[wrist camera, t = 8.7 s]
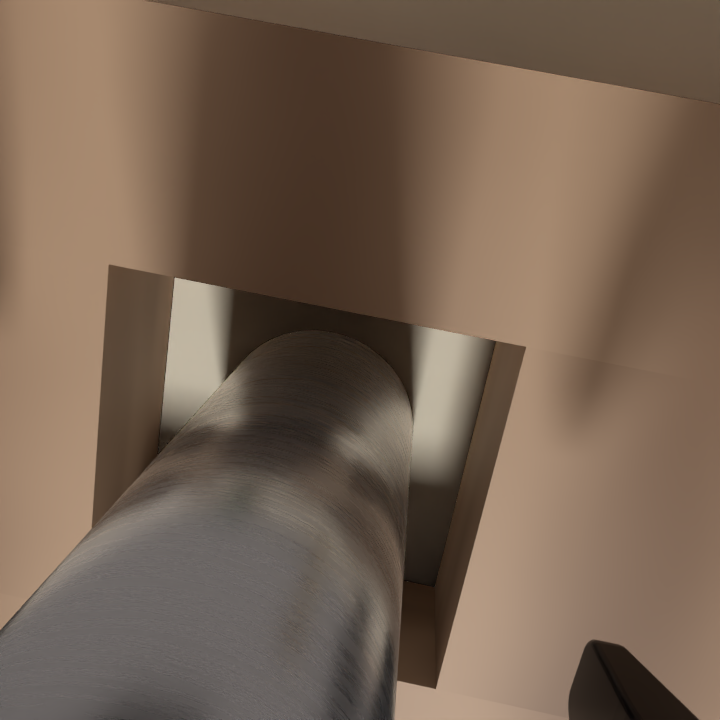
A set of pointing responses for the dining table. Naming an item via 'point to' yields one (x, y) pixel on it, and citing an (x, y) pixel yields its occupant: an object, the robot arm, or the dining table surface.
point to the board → (382, 311)
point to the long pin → (239, 559)
